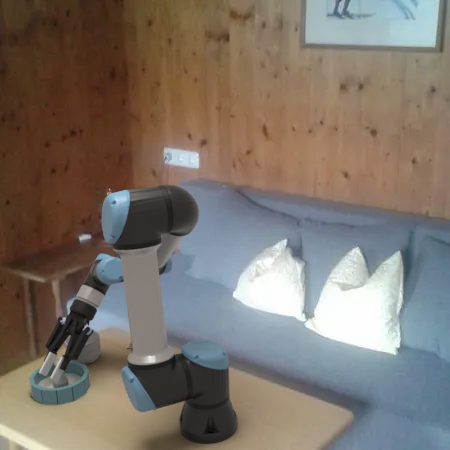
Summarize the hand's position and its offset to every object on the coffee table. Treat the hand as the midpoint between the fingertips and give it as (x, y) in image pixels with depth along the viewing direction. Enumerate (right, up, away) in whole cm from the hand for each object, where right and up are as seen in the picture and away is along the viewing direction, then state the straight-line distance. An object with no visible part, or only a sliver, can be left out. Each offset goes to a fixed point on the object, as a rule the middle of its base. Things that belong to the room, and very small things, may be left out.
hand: (48, 376), depth 189 cm
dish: (+2, -4, +5) cm, 7 cm away
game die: (+24, +1, +21) cm, 32 cm away
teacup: (+6, +1, +22) cm, 23 cm away
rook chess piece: (+3, -4, +4) cm, 6 cm away
